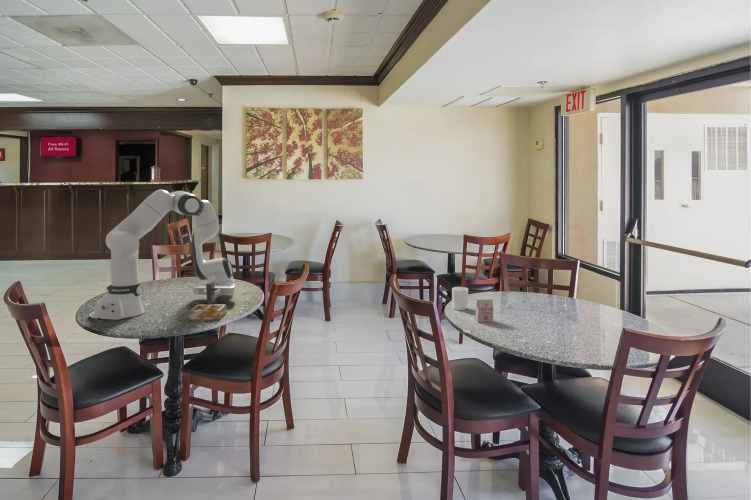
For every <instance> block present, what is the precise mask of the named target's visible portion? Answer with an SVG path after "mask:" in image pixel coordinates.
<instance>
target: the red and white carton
mask: <svg viewBox="0 0 751 500" xmlns="http://www.w3.org/2000/svg"><path fill="white" fill-rule="evenodd" d="M475 321H476V322H477V323H479V324H480V323H482V324H483V323H493V322H494V302H493V299H477V301H476V307H475Z"/></svg>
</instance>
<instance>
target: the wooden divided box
mask: <svg viewBox="0 0 751 500" xmlns="http://www.w3.org/2000/svg"><path fill="white" fill-rule="evenodd" d="M227 313H228V309H227V304H216V305H207V304H196V305H195V306H193V307H191V309H189V317H188V320H221V319H222V318H223V317H224V316H225V315H226V314H227Z"/></svg>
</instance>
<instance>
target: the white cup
mask: <svg viewBox="0 0 751 500" xmlns="http://www.w3.org/2000/svg"><path fill="white" fill-rule="evenodd" d="M468 296H469V288H468V287H464V286H454V287H452V288H451V301H452V309H453V310H455V311H465V310H467V306H468V299H469V297H468Z"/></svg>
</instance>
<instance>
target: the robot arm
mask: <svg viewBox="0 0 751 500" xmlns="http://www.w3.org/2000/svg"><path fill="white" fill-rule="evenodd" d="M171 211H173V212H176V213H177V214H178V215H179V214H180V215H184V216H187V217H192V219H193V223H194V226H195V231H194V232H193V233H192V235H191V236H192V237H191V243H192V253H193V254H192V255H193V263H194V275H195V276H196V278H197V279H200V280H201V281H206V280H209V279H213V280H212V281H211V282H215V291H213V295H215V297H221V296H225V295H226V296H227V295H229V296H230V295H232V296H233V295H235V294H236V293H237V285H236V281H235V280H234V276H233V275H234V269H233V265H232V264H233V263H232V262H231V261H230V260H229V259H228V258H226V257H220V258H213V259H209V260H205V258H204V251H203V244H204V243H206V242H207V241H210V240H211V239H213V238H214V237H215V236H217V234H218V233H219V230H220V225H219V220H218V216H217V213H216V211H215V208H214V206H213V204H212V203H211V202H210V201H209V200H206V199H200V198H199V197H198V196H196V194H193V193H190V192H188V191H184V190H173V191H170V192H169V191H168V190H165V189H157V190H155V191H153V192H152V193H151V194H150V195H149V196H147V197H146V198H145V199H144V200H143V201H142V202H141V203H140V204H139V205H138V206H137V207H135V209H134V210H133V211H132V212H131V213H130V214H129V215H128V216H126V218H124V219H123V220H122V221H121V222H119V223H118V224H117V225H116V226H115V227H114V228H112V230H110V231H109V232H108V233H107V234H106V237H105V244H106V247H107V248H108V249H109V250H110V267H109V269H110V270H109V271H110V272H109V273H110V281H111V282H110V285H108V286H107V287H105V291H107V293H106V294H104V295H103V296H102V297H101V298H100V299H98V300H97V301H96V302H95V305H94V308H93V309H94V310H93V311H92V312H90V313H89V314H88V318H89V317H91V318H90V319H98V318H100V319H101V320H115V321H116V320H122V319H126V318H132V317H136V316H139V315H142V314H144V313H145V309H144V307H143V303H142V297H141V283H140V282H139V268H138V267H139V266H138V264H139V255H140V254H139V251H140V239H141V238H143V237H144V236H145V235H147V233H149V232H151V231H152V230H153V229H154V228H155V227H156V225H158V223H160V221H162V219H163V218H164V217H165V216H166V214H168V213H170V212H171ZM192 292H193V295H196V296H197V295H201V296H202V295H204V296H207V294H206V284H199V285H194V287H193V289H192Z"/></svg>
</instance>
